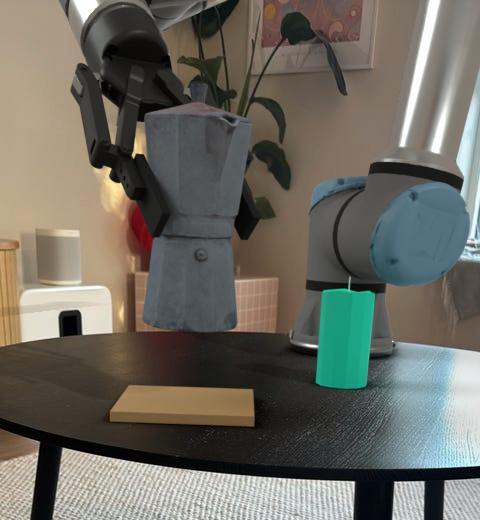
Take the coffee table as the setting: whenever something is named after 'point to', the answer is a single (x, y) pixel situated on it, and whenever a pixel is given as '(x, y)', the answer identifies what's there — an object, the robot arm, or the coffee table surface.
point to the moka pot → (195, 214)
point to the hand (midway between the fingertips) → (207, 227)
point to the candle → (344, 338)
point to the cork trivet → (185, 406)
